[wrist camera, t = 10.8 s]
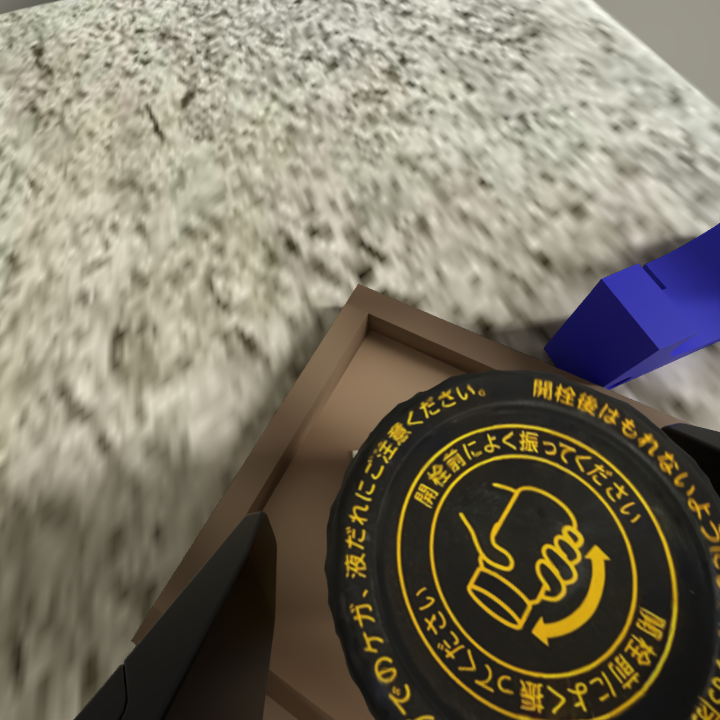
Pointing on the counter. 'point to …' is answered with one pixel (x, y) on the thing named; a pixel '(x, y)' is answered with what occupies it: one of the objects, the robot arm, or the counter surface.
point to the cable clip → (644, 316)
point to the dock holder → (336, 479)
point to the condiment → (526, 559)
